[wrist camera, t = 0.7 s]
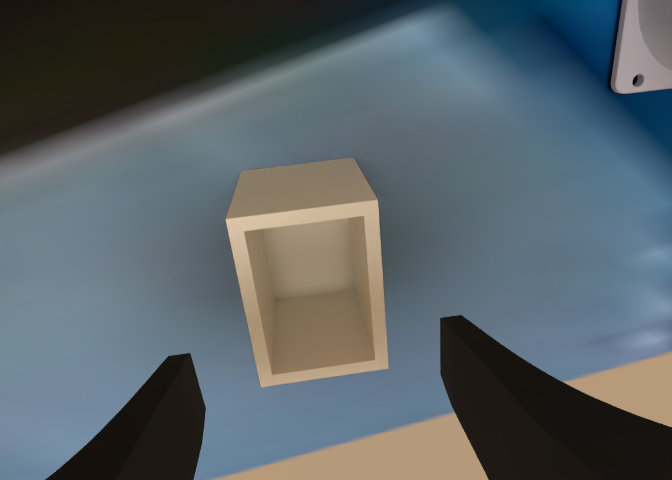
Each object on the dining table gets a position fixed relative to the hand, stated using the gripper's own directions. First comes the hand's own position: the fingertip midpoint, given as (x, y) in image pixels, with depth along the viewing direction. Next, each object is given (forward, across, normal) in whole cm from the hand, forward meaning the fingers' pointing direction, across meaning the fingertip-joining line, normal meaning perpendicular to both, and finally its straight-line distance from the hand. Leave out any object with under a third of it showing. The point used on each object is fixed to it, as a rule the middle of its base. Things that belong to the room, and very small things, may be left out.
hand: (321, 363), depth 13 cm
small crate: (+10, 0, 0) cm, 10 cm away
